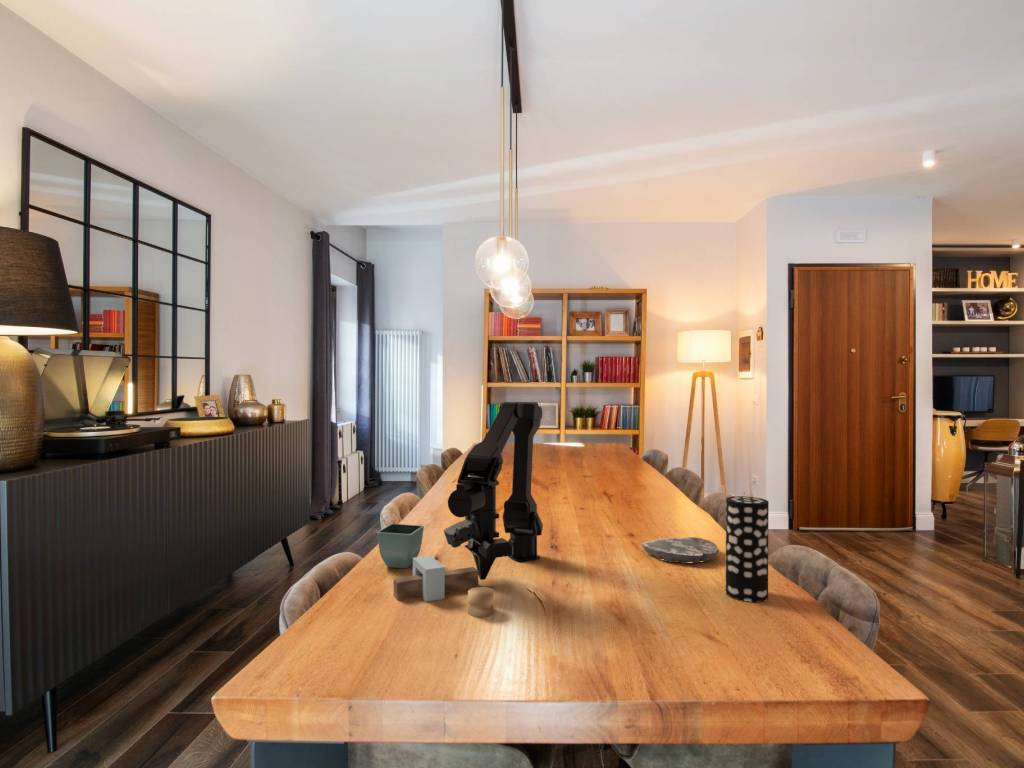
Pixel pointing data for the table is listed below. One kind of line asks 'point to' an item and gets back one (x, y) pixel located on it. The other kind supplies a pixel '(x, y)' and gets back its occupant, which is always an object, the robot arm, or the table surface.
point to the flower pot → (400, 544)
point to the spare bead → (480, 602)
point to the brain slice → (681, 549)
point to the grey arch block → (430, 577)
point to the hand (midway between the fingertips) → (482, 579)
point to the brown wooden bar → (453, 582)
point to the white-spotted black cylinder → (747, 548)
